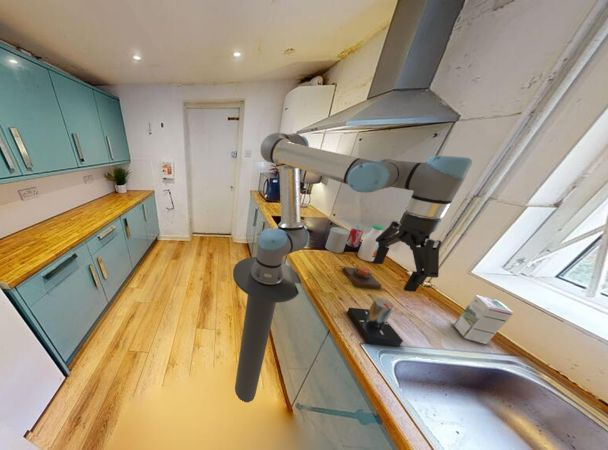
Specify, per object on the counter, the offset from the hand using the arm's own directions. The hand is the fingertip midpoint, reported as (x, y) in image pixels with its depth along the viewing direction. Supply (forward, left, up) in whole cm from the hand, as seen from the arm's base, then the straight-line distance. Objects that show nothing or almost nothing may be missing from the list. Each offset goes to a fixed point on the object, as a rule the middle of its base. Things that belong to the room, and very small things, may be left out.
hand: (391, 275), depth 64 cm
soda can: (-58, +25, -21) cm, 67 cm away
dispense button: (-24, +11, -17) cm, 32 cm away
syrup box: (+2, +32, -21) cm, 38 cm away
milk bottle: (-44, +25, -21) cm, 55 cm away
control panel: (+4, -1, -21) cm, 21 cm away
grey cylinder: (-52, +12, -21) cm, 58 cm away
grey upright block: (+4, -1, -18) cm, 18 cm away
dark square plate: (-24, +11, -21) cm, 34 cm away
